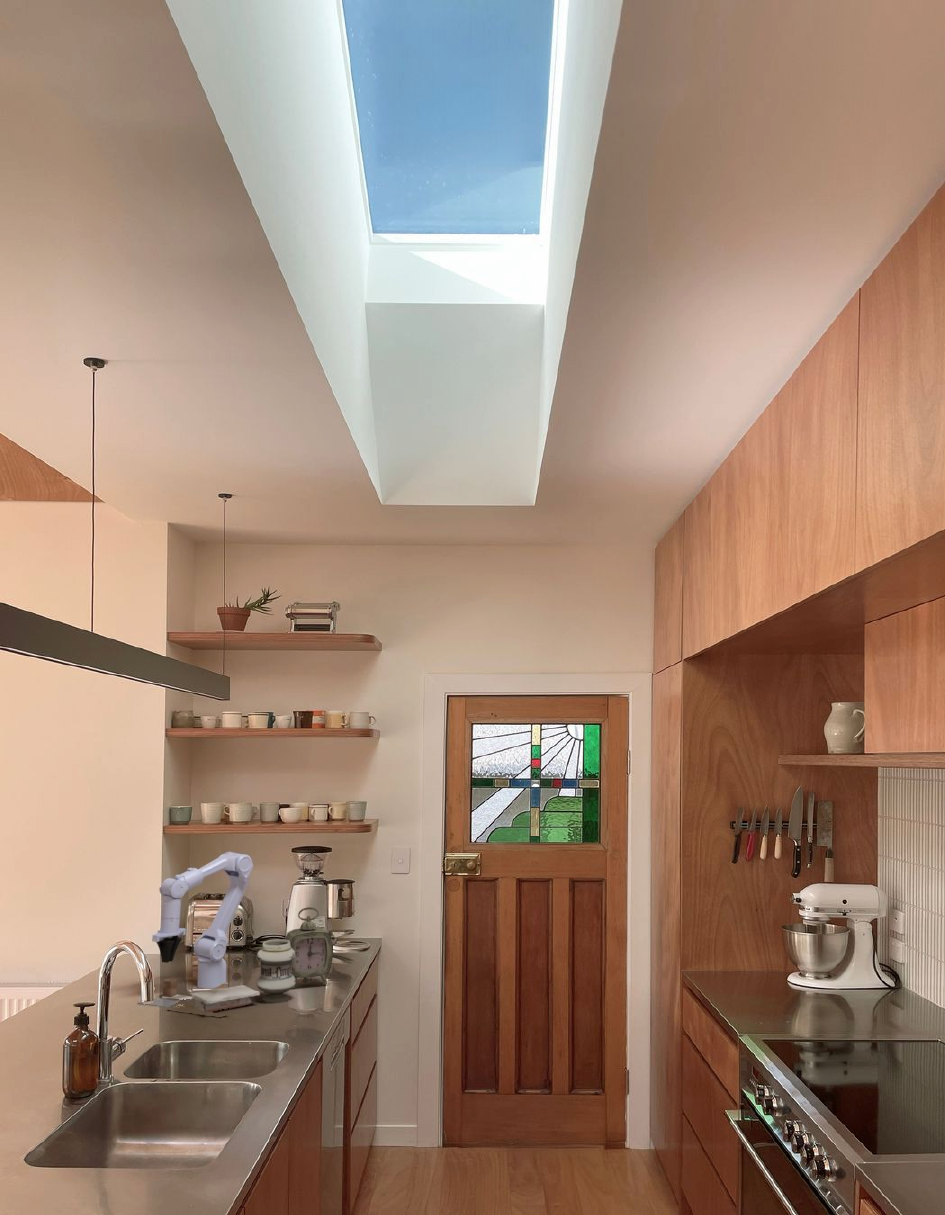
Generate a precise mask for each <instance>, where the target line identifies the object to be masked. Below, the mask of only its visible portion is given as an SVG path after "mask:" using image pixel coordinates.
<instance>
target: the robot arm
mask: <svg viewBox="0 0 945 1215" xmlns="http://www.w3.org/2000/svg"><path fill="white" fill-rule="evenodd" d="M253 868H254V863H253V860H252V858H251V856H250V855H248V854H244V853H243V854H242V853H237V852H233V851H226V852H225V853H223V854H222V853H221V854H220V855H219V856H218V857H217V858H215V859H214V860H212V861H210V862H208V863H207V864H205V865H203V866H201V867H200V868H196V867H188V868H187V869H186V870H187V871H184V872H183V873H180V874H176V875H175V876H174V877H173V878H170V877H169V878H166V879H164V880H163V882H162V883H161V886H159V889H158V890H159V893H160V894H161V901H162V904H161V914H160V915H161V916H160V917H161V918H160V930H157V933H155V934H152V937H151V940H152V942H155V943H156V945H157V946H158V949H159V953H160V957H161V962H162V963H165V964H168V963H169V962H173V961H174V959H175V958H174V957H175V955H176V951H177V949H178V947H179V945H180V943H181V942H182V937H180V936H185V935H186V932H187V928H183V927H180V920H181V908H182V907H181V906H182V898H183V897H184V895H185V894H186V893H187V892H188V891H190V890H191V889H194V888H196V887H198V886H199V885H202V883H203V879H205V878H208V877H210V876H213V875H215V874H216V873H219V872H221V871H224V873H225V874H226V875H227V877H228V878H229V881H230V885H229V887H228V888H227V891H226V893H225V896H224V897H223V899H222V901H221V904H220V906H219V908H218V910H217V912H216V914H215V917H214V918H213V921H212V923H211V925H210V927H209V928H207V929H206V930H204V931H203V932H202V934H201V936H200V937H199V938H198V939H197V940H196V941H195V943H194V945H193V952H194V954H195V956H197V987H198V988H200V989H216V988H218V987H220V986H221V985H223V984H227V985H228V984H229V983H228V982H227V962H226V960H225V959H224V956H225V955H226V951H227V945H228V943H229V940H228V937H227V931H228V930H229V928H230V925H231V924H232V922H233V918H234V917H235V915H236V913H237V910H238V908H239V906H240V903H241V902H242V899H243V897H244V895H245V893H246V891H247V888H248V887H249V884H250V877H251V873H252V870H253Z"/></svg>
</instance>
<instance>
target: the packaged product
mask: <svg viewBox="0 0 945 1215" xmlns="http://www.w3.org/2000/svg"><path fill="white" fill-rule="evenodd" d="M260 995H261V993H260V990H259V991H257V990H254V989H253V988H250V987H249V986H246V985H244V984H242V985H236V986H230V987H224V988H213V989H210V990H209V989H208V990H205V991H199V992H193V993H191V996H192V999H191V1000H193V999H194V1005H193V1006H195V1009H197V1010H199V1011H202V1012H212V1011H214V1012H218V1010H220V1011H223V1010H222V1009H224V1010H229V1009H234V1008H238V1007H239V1008H240V1007H243V1006H244V1007H245V1006H248V1005H251V1004H252V1003H253V1001H252V999H251V997H255V996H260ZM228 1008H229V1009H228Z"/></svg>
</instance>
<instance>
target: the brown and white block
mask: <svg viewBox="0 0 945 1215" xmlns="http://www.w3.org/2000/svg"><path fill="white" fill-rule="evenodd" d="M162 981H163V982H162V996H161V999H164V1000H171V999H179V1000H178V1001H180V1000H183V999H184V1000H186V999H190V1000H193V999H192V995H185V994H184V995H183V994H182V995H181V994H177V992H178V991H177V989H178V984H177V983H178V979H175V978H167V979H164V980H162Z"/></svg>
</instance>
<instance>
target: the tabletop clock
mask: <svg viewBox="0 0 945 1215" xmlns="http://www.w3.org/2000/svg"><path fill="white" fill-rule="evenodd" d="M307 910H314V911H315V912H316V913H317V914H316V916H313V917H311V916H309V915H307V916H306V918H304V917H301V916H300V914H302V912H303V911H307ZM319 912H320V911H319V910H318V909H317V908H315V907H311V906H310V907H307V906H306V907H303V908H301V910H299V911H298V913H297V917H298V918H299V919H300V920H301V921H304V922H302V923H301V925H300V928H295V929H291V930H289V931H287V933H286V935H285V938H284V940H289V941H290V946H291V948H293V949H294V951H295V958H294V959H293V960H292V963H291V965H292V966H291V967H292V975H293V976H294V977H295V979H296V980H297V978H299V979H302V978H303V979H302V983H303V984H307V983H308V978H314V977H316V978H317V977H320V978H321V980H322V983H321V984H322V985H324V986H326V985H327V984H328V980H327V979H325V978H324V976H325V975H326V974H328V973H329V972H330V970H331V969H332V962H333V941H332V937H331V934H330V933H329V932H328V931H327V930H325V929H324V928H320V927H317V925H316V924H315V922H313V920H315V919H317V918H318V916H319ZM296 986H297V985H296V984H295V985H294V987H293V988H292V989H295V988H296Z"/></svg>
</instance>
